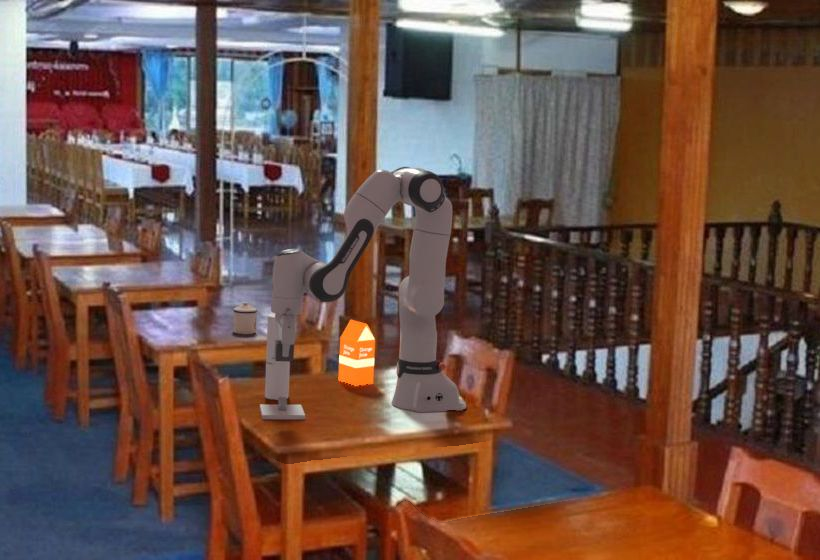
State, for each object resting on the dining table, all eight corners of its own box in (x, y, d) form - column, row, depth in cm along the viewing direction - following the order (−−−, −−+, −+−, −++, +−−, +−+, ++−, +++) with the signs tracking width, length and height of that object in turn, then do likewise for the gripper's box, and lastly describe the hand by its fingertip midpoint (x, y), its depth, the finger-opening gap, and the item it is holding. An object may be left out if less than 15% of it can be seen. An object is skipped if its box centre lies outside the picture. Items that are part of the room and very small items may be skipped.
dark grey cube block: (291, 357, 346) (292, 339, 345) (293, 361, 341) (294, 343, 340) (274, 357, 345) (275, 339, 344) (275, 361, 340) (276, 342, 339)
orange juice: (354, 386, 384) (357, 324, 381) (337, 380, 390) (340, 320, 387) (373, 383, 389) (376, 322, 386) (356, 378, 395) (359, 318, 393)
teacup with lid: (259, 334, 461) (260, 304, 459) (237, 335, 457) (238, 304, 455) (249, 328, 471) (250, 298, 470) (227, 329, 467) (228, 299, 466)
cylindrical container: (284, 400, 361) (287, 318, 357) (261, 398, 362) (264, 316, 359) (291, 395, 368) (294, 314, 364) (269, 393, 369) (272, 312, 366)
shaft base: (300, 408, 353) (301, 392, 352) (305, 419, 341) (305, 403, 340) (259, 408, 350) (260, 392, 350) (262, 419, 339) (262, 403, 338)
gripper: (301, 312, 331) (298, 362, 333) (294, 300, 351) (292, 347, 353) (278, 312, 330) (276, 361, 332) (272, 299, 350) (270, 346, 352)
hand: (284, 354), depth 343 cm, fingers closed on dark grey cube block, 5 cm apart
